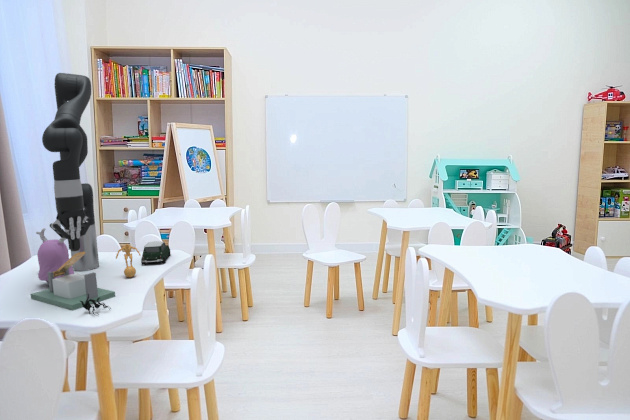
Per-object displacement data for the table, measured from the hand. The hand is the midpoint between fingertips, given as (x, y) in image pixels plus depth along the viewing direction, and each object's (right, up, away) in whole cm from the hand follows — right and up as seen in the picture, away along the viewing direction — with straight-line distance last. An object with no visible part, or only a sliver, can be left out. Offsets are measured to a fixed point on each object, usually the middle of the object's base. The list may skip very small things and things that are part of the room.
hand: (74, 250), depth 144 cm
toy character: (-16, -14, +19) cm, 28 cm away
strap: (-3, -5, +3) cm, 7 cm away
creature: (+12, -17, -10) cm, 23 cm away
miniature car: (+8, -9, +50) cm, 52 cm away
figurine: (+7, -12, +26) cm, 30 cm away
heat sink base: (-3, -15, +4) cm, 16 cm away
